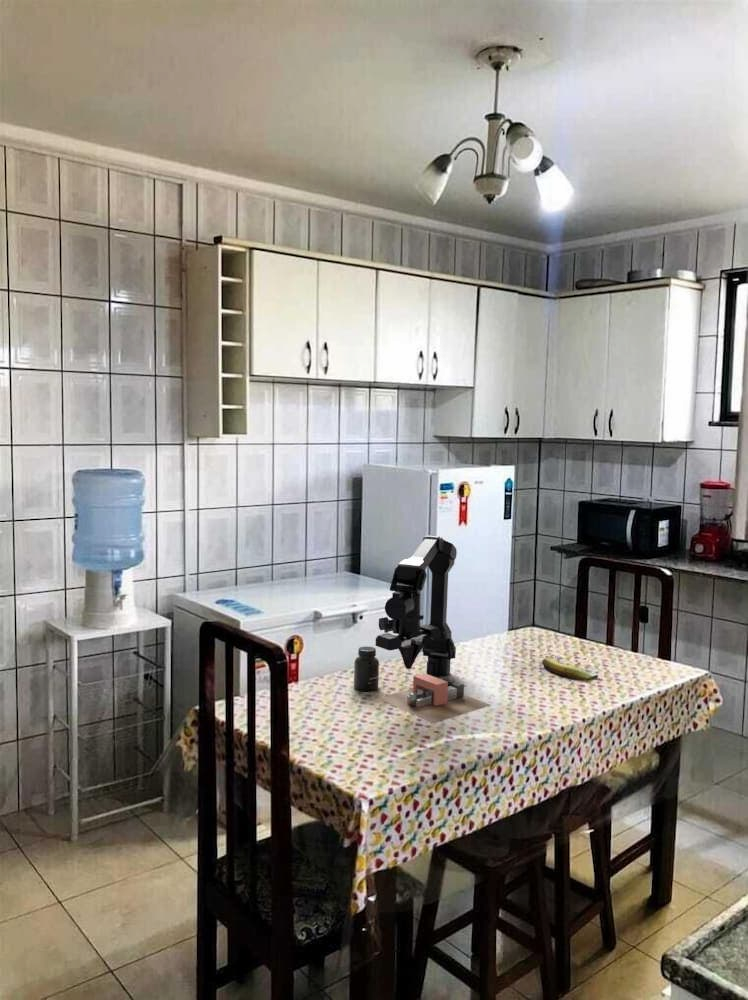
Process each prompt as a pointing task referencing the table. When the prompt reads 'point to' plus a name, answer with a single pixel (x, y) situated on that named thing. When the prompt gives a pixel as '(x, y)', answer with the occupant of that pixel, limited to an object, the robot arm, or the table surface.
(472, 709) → the board
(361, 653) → the supplement bottle
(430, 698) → the tongs jaw
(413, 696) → the tongs fixed
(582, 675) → the green-yellow banana
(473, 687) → the table surface
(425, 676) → the pink u-shaped block
